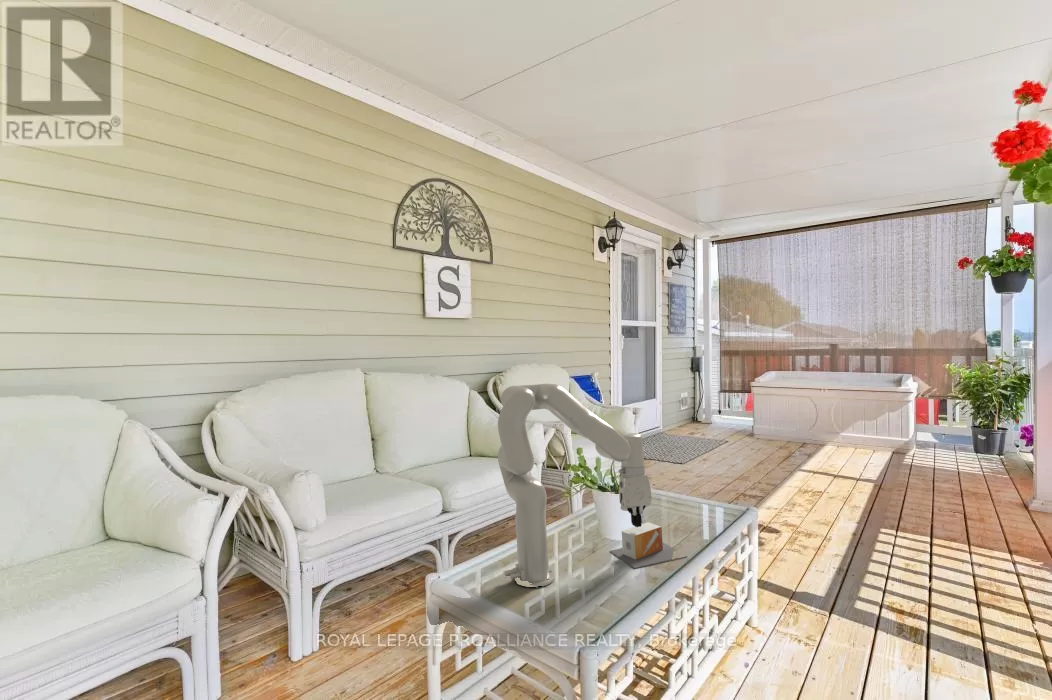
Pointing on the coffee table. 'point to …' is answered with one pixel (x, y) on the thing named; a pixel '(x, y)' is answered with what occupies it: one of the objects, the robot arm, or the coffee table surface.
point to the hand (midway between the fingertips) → (636, 525)
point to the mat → (646, 557)
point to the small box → (642, 540)
